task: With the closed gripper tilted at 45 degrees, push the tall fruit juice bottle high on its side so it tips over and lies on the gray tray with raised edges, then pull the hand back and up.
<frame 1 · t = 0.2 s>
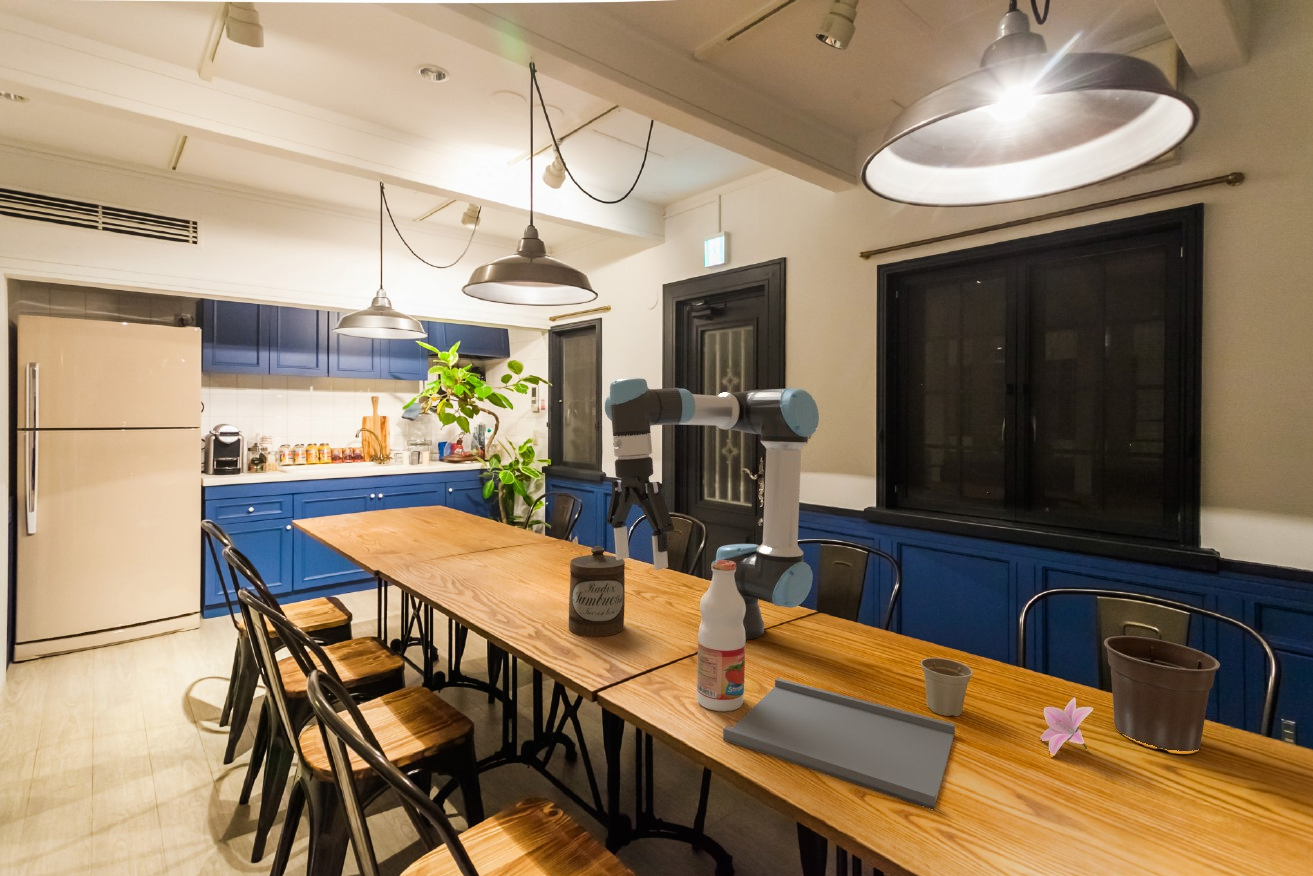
hand: (641, 563, 120), 27 cm above the table, tool pointing down, fingers open, 13 cm apart
gray tray: (840, 737, 108), on the table
flower pot: (944, 710, 120), on the table
fruit juice: (719, 702, 121), on the table
plant pot: (1155, 739, 111), on the table
lily: (1064, 751, 106), on the table
wooden container: (596, 628, 162), on the table
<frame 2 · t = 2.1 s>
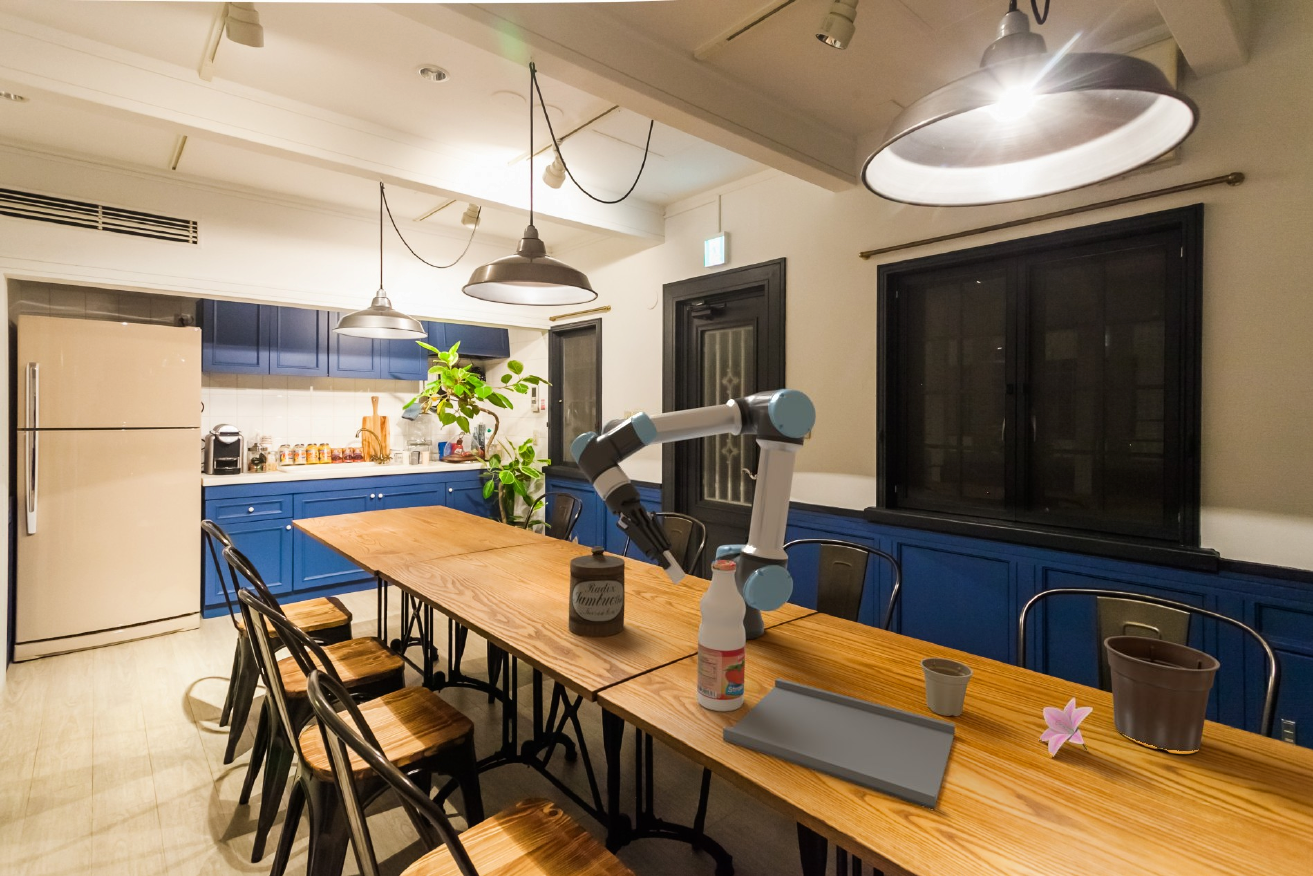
hand: (680, 579, 125), 23 cm above the table, tool tilted 45°, fingers closed
nothing on the table moved.
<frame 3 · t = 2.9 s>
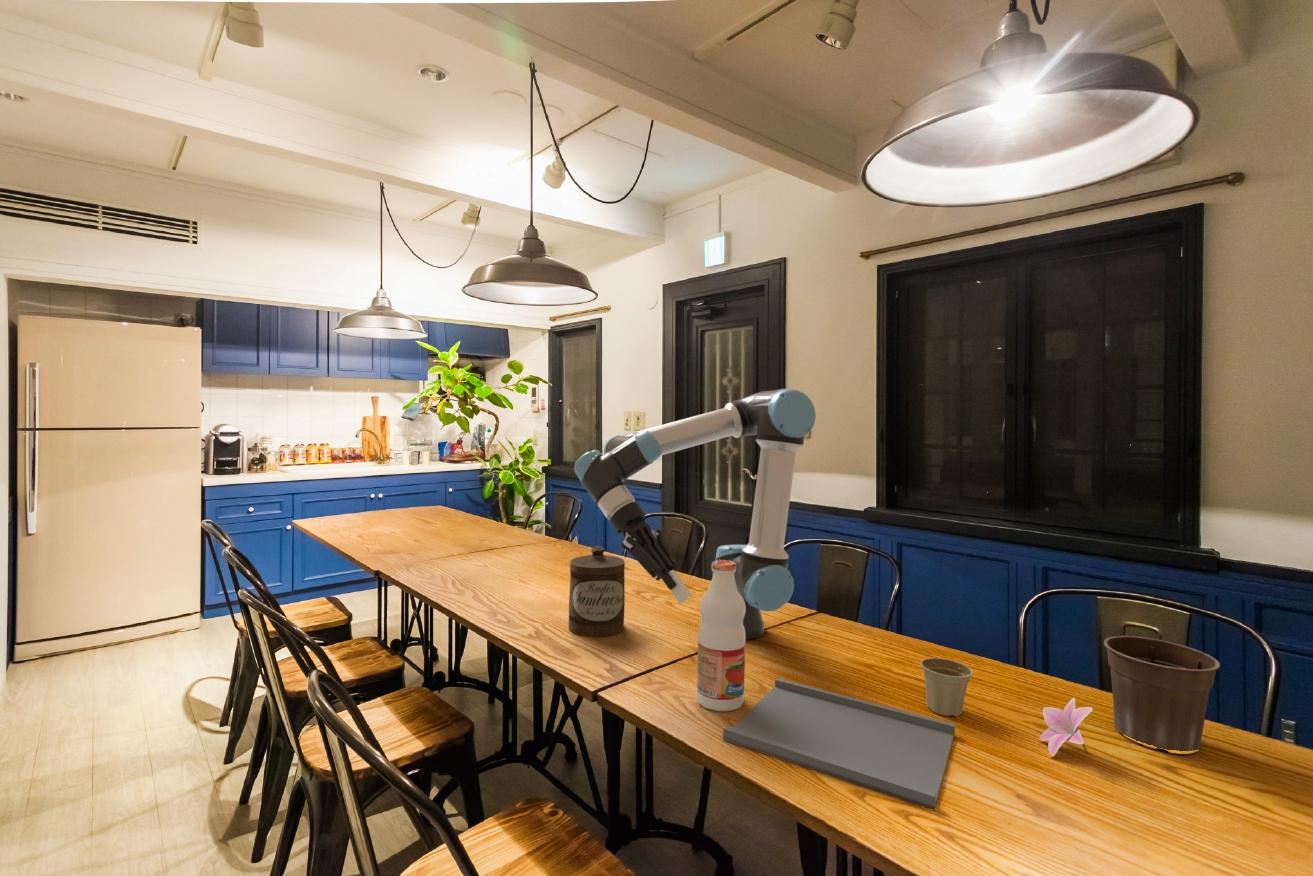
hand: (686, 599, 125), 19 cm above the table, tool tilted 45°, fingers closed
nothing on the table moved.
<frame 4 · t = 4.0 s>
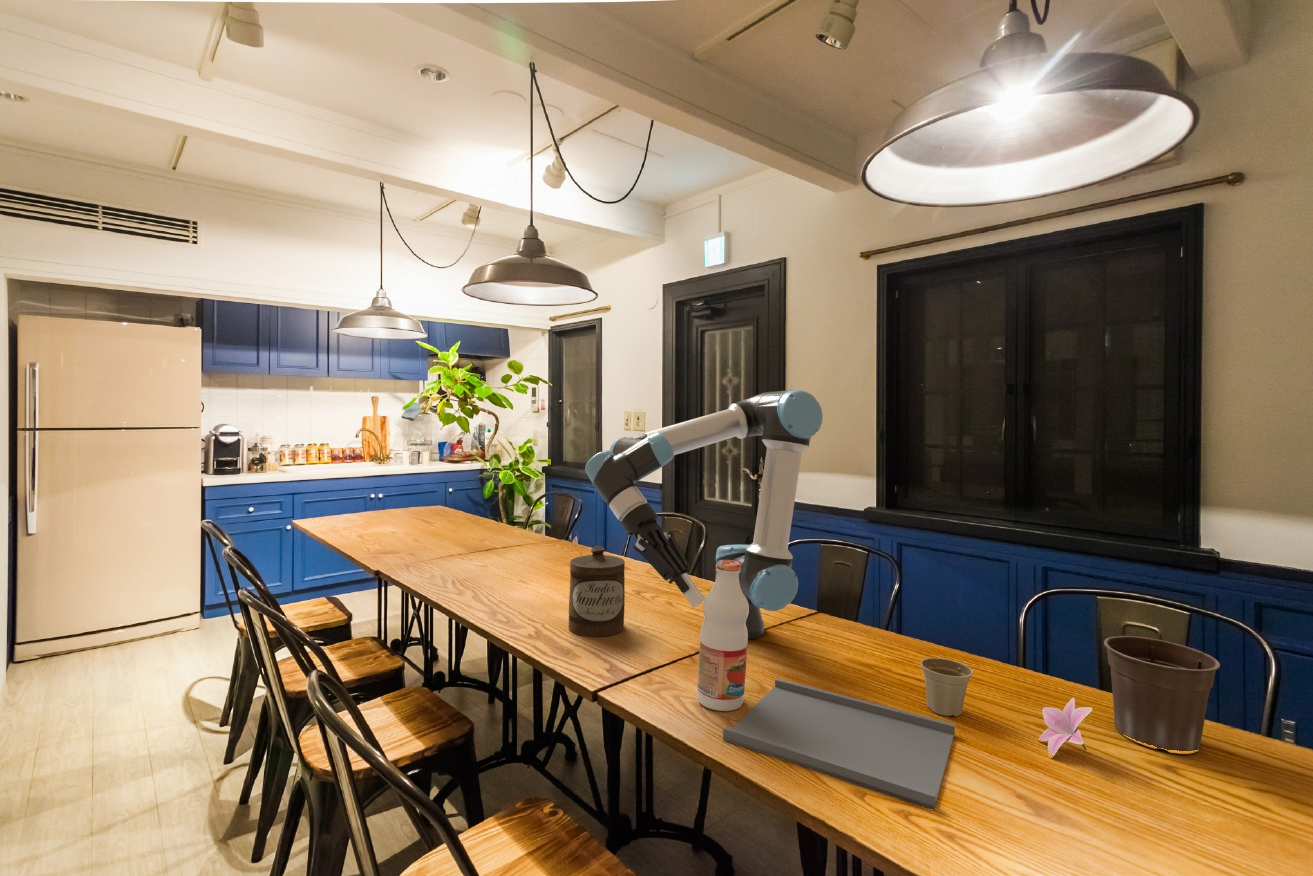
hand: (699, 603, 122), 19 cm above the table, tool tilted 45°, fingers closed
fruit juice: (719, 701, 121), on the table, touching gripper
everything else where it was.
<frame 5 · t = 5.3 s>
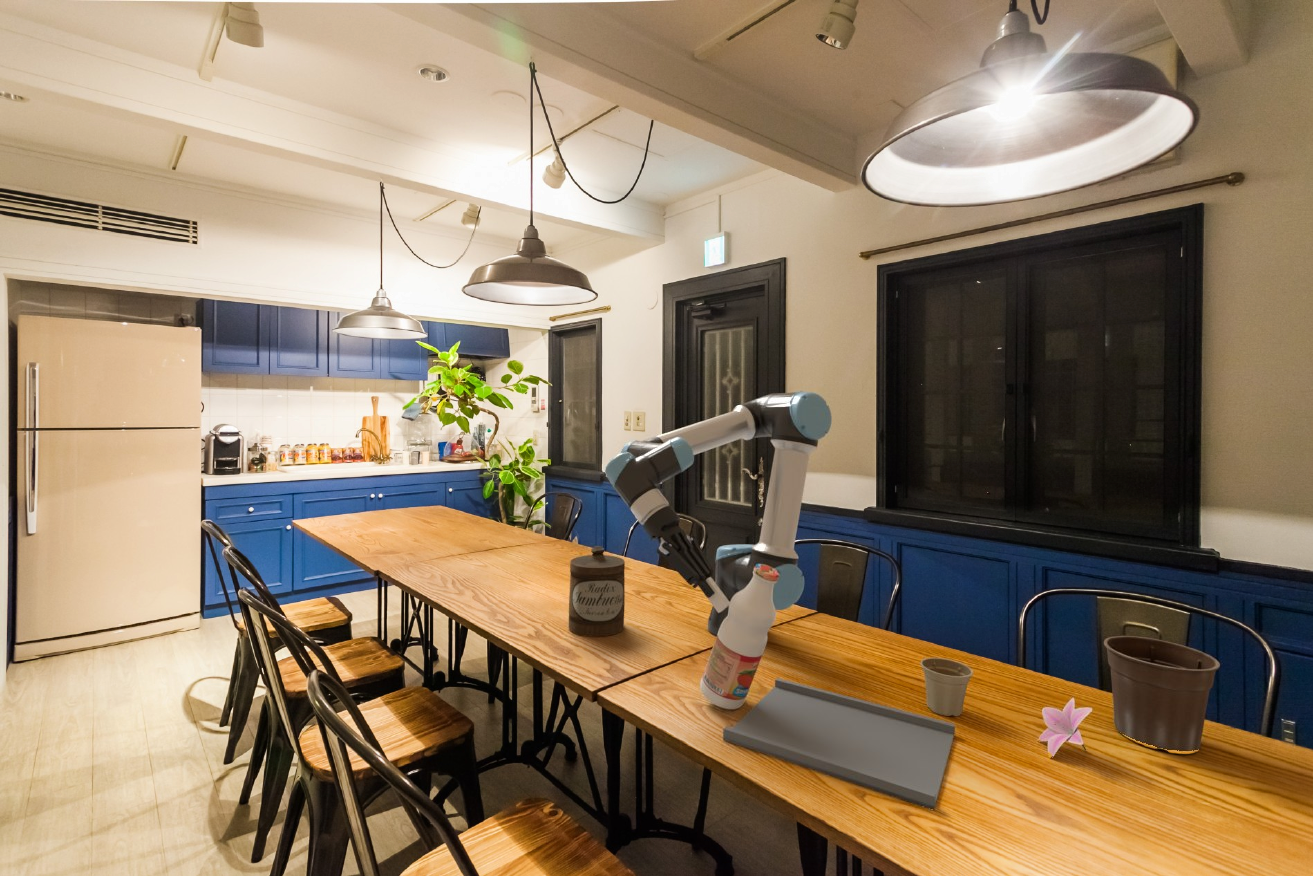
hand: (724, 608, 120), 19 cm above the table, tool tilted 45°, fingers closed
fruit juice: (720, 695, 121), point 1 cm above the table
everything else where it was.
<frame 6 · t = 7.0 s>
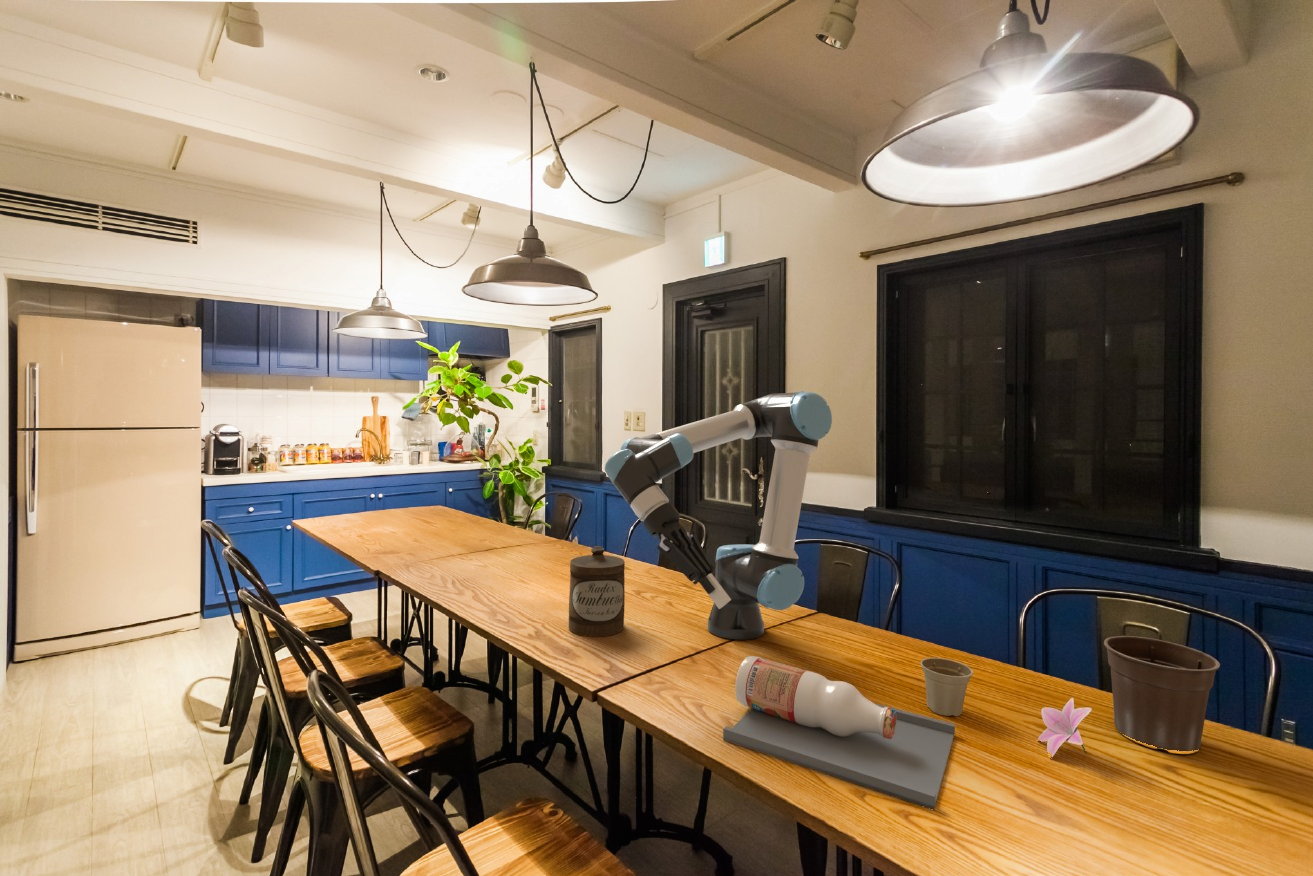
hand: (725, 604, 120), 20 cm above the table, tool tilted 45°, fingers closed
fruit juice: (744, 678, 119), point 5 cm above the table, touching gray tray
everything else where it was.
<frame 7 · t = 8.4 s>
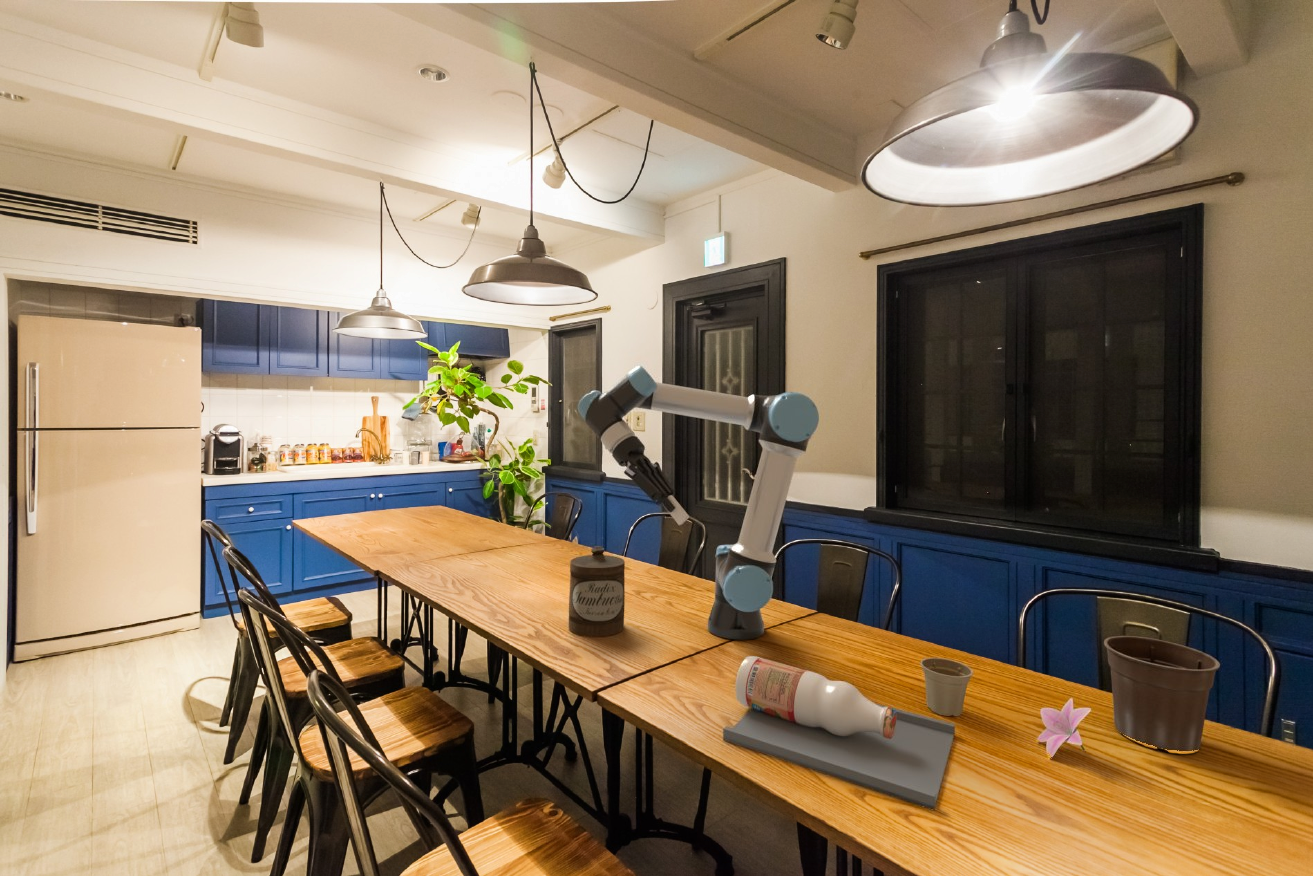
hand: (684, 520, 137), 33 cm above the table, tool tilted 45°, fingers closed
nothing on the table moved.
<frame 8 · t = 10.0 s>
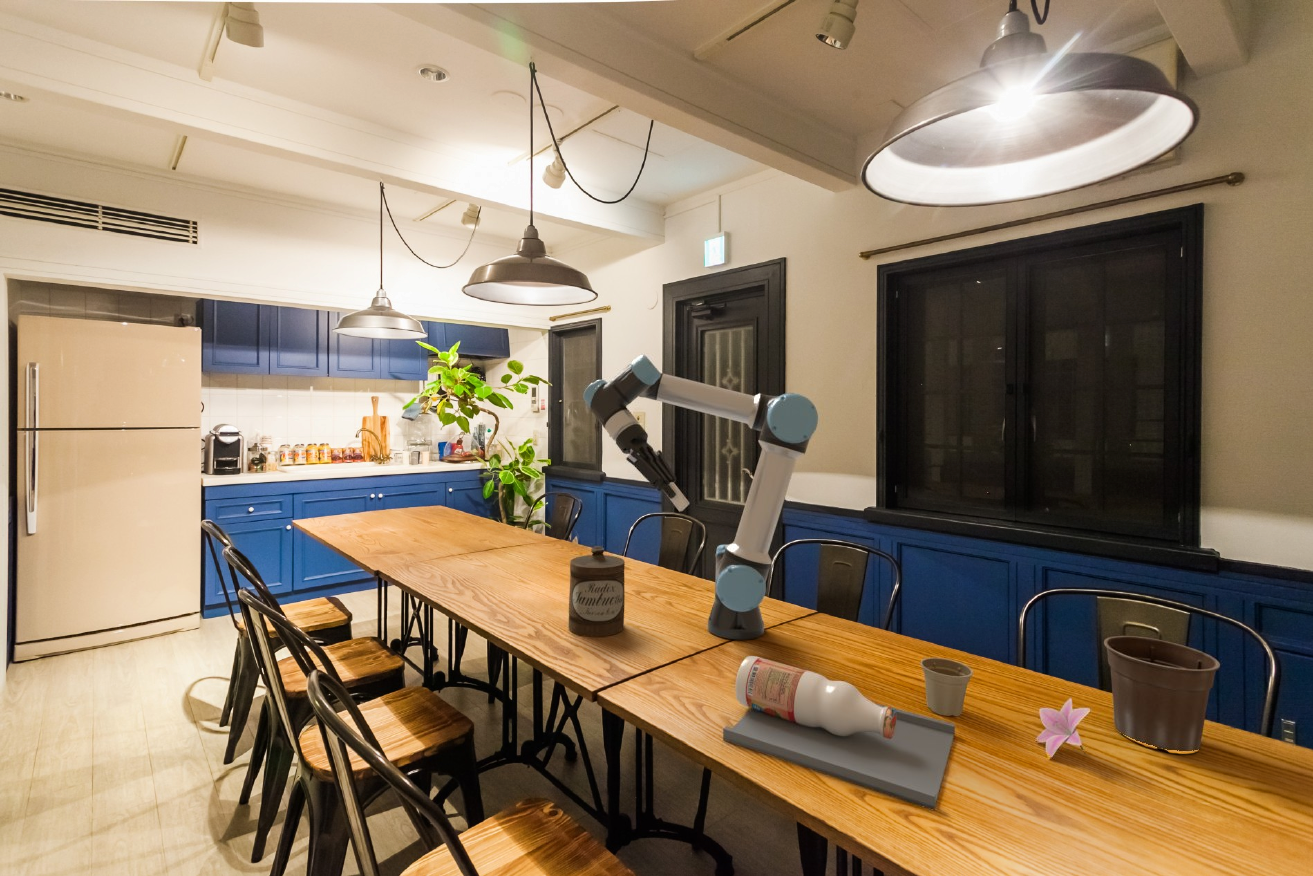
hand: (684, 507, 139), 36 cm above the table, tool tilted 45°, fingers closed
nothing on the table moved.
at the end: fruit juice tilted 90°; fruit juice touching gray tray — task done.
